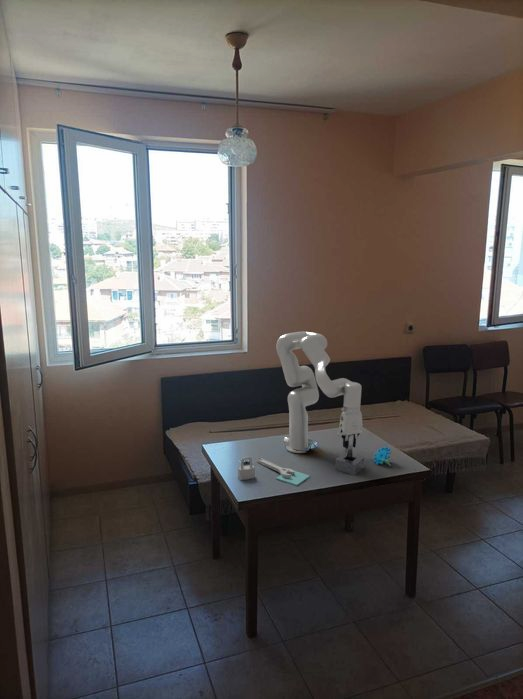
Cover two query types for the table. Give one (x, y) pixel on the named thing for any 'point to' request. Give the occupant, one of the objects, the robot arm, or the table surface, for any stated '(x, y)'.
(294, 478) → the mat
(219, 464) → the table surface
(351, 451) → the metal cylinder
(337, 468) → the block
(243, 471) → the padlock
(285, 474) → the adjustable wrench
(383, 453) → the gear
